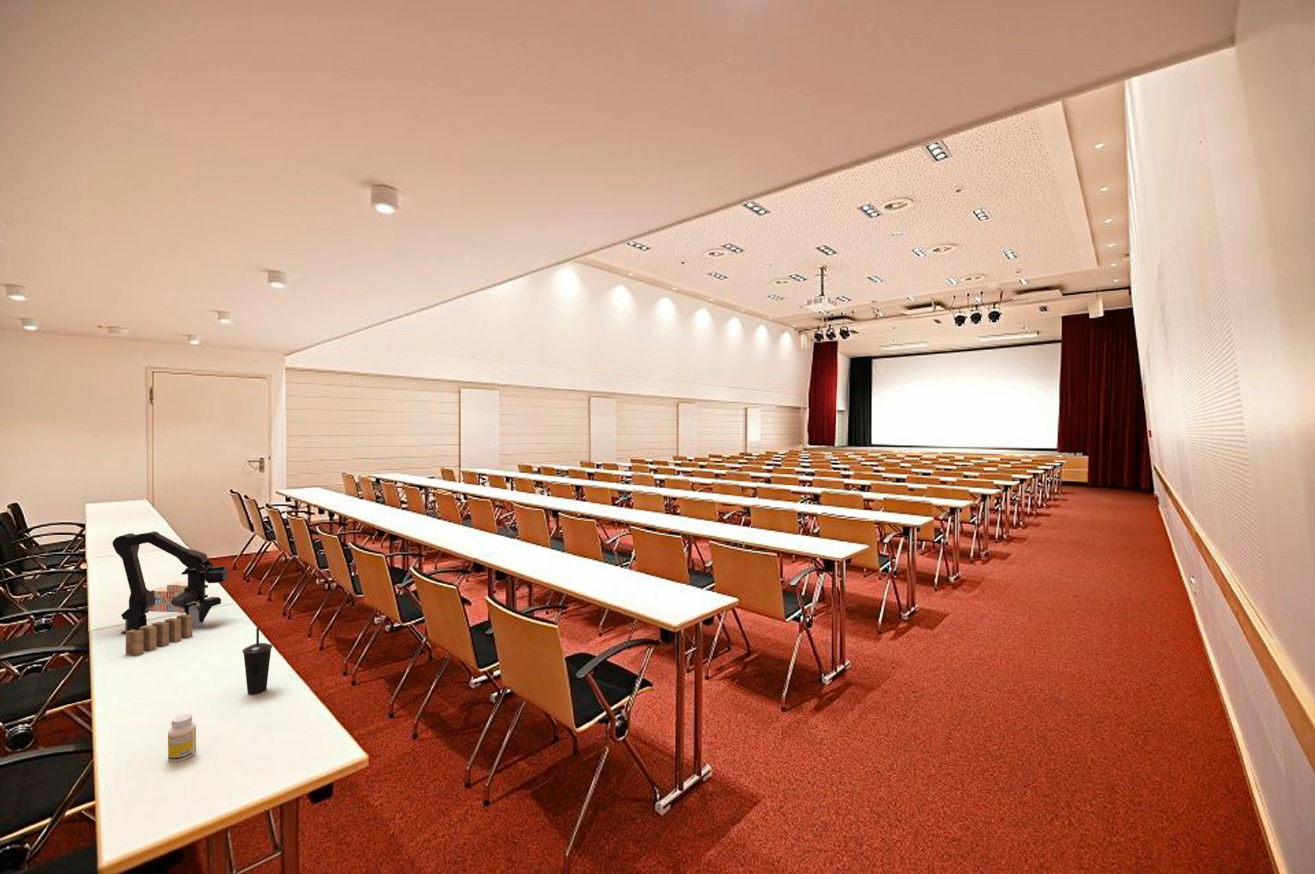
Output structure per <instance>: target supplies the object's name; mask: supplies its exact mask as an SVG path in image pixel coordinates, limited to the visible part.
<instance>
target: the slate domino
mask: <svg viewBox="0 0 1315 874" xmlns="http://www.w3.org/2000/svg"><path fill="white" fill-rule="evenodd" d="M199 606H200V605H192V606H189V615H193V628H194V629H195V628H196V629H198V628H202V627H204V626H205V625H204V624H205V620H204V621H203V622H200V620H199V610H198V609H196V607H199Z"/></svg>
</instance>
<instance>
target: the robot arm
mask: <svg viewBox="0 0 1315 874" xmlns="http://www.w3.org/2000/svg"><path fill="white" fill-rule="evenodd" d="M143 544H151V545H153V546H155V547H157V549H160V550H162V551H164V552H166V553H167V554H169V555H170V556H171V555H172V556H173V557H176V558H177V559H178V560H179V561H180V563H181V564H182V565H184V566H185V567H186V568H185V570H184V571H182V572H181V573H180V574H181V575H187V582H188V587H187V588H185V589H184V593H182V594H180V595H178V596H176V597H174V598H173V599H172V600H171V605H174V606H175V607H180V608H182V609H184V611H185V615H189V606H192V605H197V603H199V604H200V606H199V607H196V609H198V610H199V620H200V622H203V621H204V622H205V619H206V617H207V615H208V614H209V612H210V610H211V609H212V607H215V606H218V605H221V604H222V598H220V597H219V596H210V597H209V594H206V588H209V585H208V584H220V583H221V584H223V583H226V582H228V578H229V571H228V569H227V566H226V565H221V566H214V565H213V563H212V562H211V561H210V560H209V559H208V555H207V554H206V553H205V552H201V551H199V550H194V549H191V548H187V547H185V546H183V545H181V544H179V543H177V542H175V541H173V540H172V539H170V538H167V537H166V536H164V535H162V534H160V533H159V532H158V531H154V530H153V531H150V532H144V533H138V534H135V533H126V534H125V533H124V534H122V535H120V536H117V537H115V538H114V539H113V540H112V546H113V549H114V550H115V553H116V554H117V555H118V556H119V557H120V558H121V560H122V563H123V568H124V571H125V575H126V579H127V583H128V587H129V591H130V595H129V598H128V608H127V609H126V610H125V611H124V612H123V613H122V614H121V618H122V620H124V621H125V627H124V628H125V630H122V631H121V634H126V631H130V630H139V627H143V626H148V621H147V615H146V614H147V613H150V611H149V610H150V608H152V607H153V605H154V604H155V600H156V598H155V596H154V591H149V590H150V589H147V587H146V582H145V579H144V576H143V571H142V566H141V563H140V559H139V555H138V554H139V550H140V545H143ZM206 583H208V584H206Z"/></svg>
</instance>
